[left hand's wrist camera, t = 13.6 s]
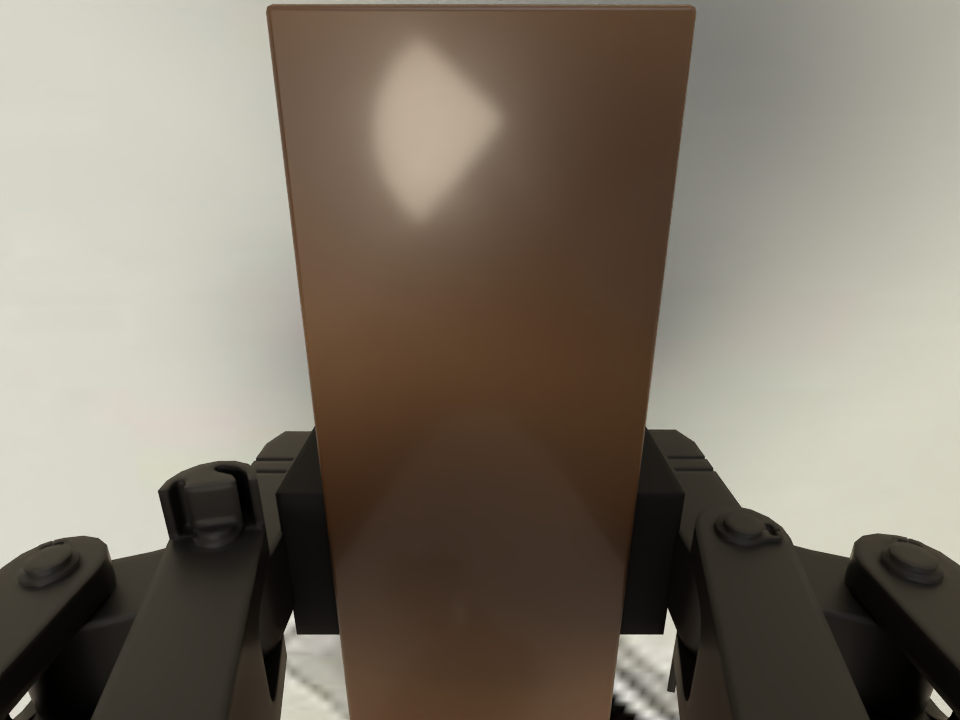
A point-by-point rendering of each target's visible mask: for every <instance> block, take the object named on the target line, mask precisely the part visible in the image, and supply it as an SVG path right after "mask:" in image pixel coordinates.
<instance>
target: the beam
mask: <svg viewBox="0 0 960 720" xmlns="http://www.w3.org/2000/svg"><path fill="white" fill-rule="evenodd" d="M266 16H267V24H268V33H269V41H270V49H271V58H272V66H273V75H274V83H275V92H276V100H277V109H278V117H279V125H280V134H281V142H282V151H283V159H284V168H285V176H286V184H287V193H288V201H289V210H290V218H291V227H292V235H293V244H294V252H295V260H296V269H297V277H298V286H299V294H300V303H301V311H302V319H303V328H304V336H305V345H306V353H307V362H308V370H309V379H310V387H311V395H312V404H313V412H314V421H315V429H316V438H317V446H318V454H319V463H320V471H321V480H322V488H323V497H324V505H325V514H326V522H327V530H328V539H329V547H330V556H331V564H332V573H333V581H334V589H335V598H336V606H337V615H338V623H339V632H340V640H341V649H342V657H343V665H344V674H345V682H346V691H347V699H348V708H349V716H350V720H609V719H610V711H611V703H612V695H613V686H614V678H615V670H616V662H617V654H618V646H619V638H620V629H621V621H622V613H623V605H624V597H625V589H626V581H627V572H628V564H629V556H630V548H631V540H632V532H633V524H634V515H635V507H636V499H637V491H638V483H639V475H640V467H641V458H642V450H643V442H644V434H645V426H646V418H647V410H648V401H649V393H650V385H651V377H652V369H653V361H654V353H655V344H656V336H657V328H658V320H659V312H660V304H661V296H662V287H663V279H664V271H665V263H666V255H667V247H668V239H669V230H670V222H671V214H672V206H673V198H674V190H675V182H676V173H677V165H678V157H679V149H680V141H681V133H682V125H683V116H684V108H685V100H686V92H687V84H688V76H689V68H690V59H691V51H692V43H693V35H694V27H695V19H696V10H695V7H693V6H691V5H535V4H272V5H270V6H268V7H267V11H266Z"/></svg>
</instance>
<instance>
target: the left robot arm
mask: <svg viewBox="0 0 960 720" xmlns="http://www.w3.org/2000/svg"><path fill="white" fill-rule="evenodd" d="M158 493H159V497H160V502H161V506H162V510H163V514H164V518H165V522H166V526H167V530H168V534H169V538H170V539H169V542H168V544H167V546H166V548H164V549H161V550H157V551H153V552H149V553H144V554H139V555H134V556H129V557H125V558H120V559H115V560H111V558H110V554H109V551H108V547H107V545H106V544H105V543H104V542H103V541H101V540H100V539H99V538H94V537H88V536H77V537H68V538H62V539H57V540H54V541H50V542H47V543H44V544H41V545H39V546H38V547H36V548H34V549H32V550H29V551H27V552H25V553H23V554H21V555H20V556H18V557H17V558H15V559H14V560H12V561H11V562H10V563H8V564H7V565H5V566H4V567H2V568H1V569H0V720H280V717H281V707H282V698H283V689H284V679H285V670H286V661H287V653H286V646H285V640H284V634H283V633H284V631H285V628H286V626H287V623H288V621H289V618H290V616H291V613H292V611H294V618H295V624H296V631H297V634H340V632H339V623H338V615H337V606H336V598H335V589H334V581H333V573H332V564H331V556H330V547H329V539H328V530H327V522H326V514H325V505H324V497H323V488H322V480H321V471H320V463H319V454H318V446H317V438H316V429H315V427H314V428H313V430H312V431H285V432H284V433H282V434H281V435H279V436H278V437H276V438H275V439H273V440H271V441H270V442H268V443H267V444H266V445H265V447H264V448H263V449H262V451H261V452H260V454H259V455H258V456H257V458H256V461H254V462H253V463H252V465H251V466H250V465H249V464H246V463H242V462H237V461H216V462H211V463H206V464H201V465H198V466H195V467H192V468H190V469H187V470H184V471H182V472H180V473H178V474H177V475H175V476H174V477H172V478H170V479H169V480H167V481H166V482H165V483H164V485H163V486H162V487H161V488H160V489H159V490H158ZM667 608H668V610H669V612H670V614H671V617H672V619H673V622H674V624H675V627H676V629H677V634H676V640H675V646H674V652H673V658H672V664H671V670H670V676H669V682H668V689H667V691H669V692H674V693H675V687H677V697H678V706H679V715H680V720H960V565H958V564H957V563H956V562H954V561H953V560H951V559H950V558H948V557H947V556H945V555H944V554H943V553H941V552H939V551H937V550H935V549H933V548H931V547H929V546H927V545H924V544H923V543H921V542H919V541H916V540H913V539H907V538H906V537H902V536H897V535H887V534H878V533H877V534H871V535H865V536H862V537H861V538H859V539H858V540H857V541H856V542H854V546H853V549H852V553H851V556H850V558H848V557H843V556H838V555H833V554H828V553H823V552H818V551H813V550H809V549H805V548H801V547H798V546H794V545H793V543H792V541H791V538H790V537H789V536H788V534H787V533H786V532H785V530H784V529H783V528H782V527H781V526H780V525H778V524H777V523H776V522H774V521H773V520H772V519H770V518H769V517H767V516H765V515H762V514H760V513H758V512H755V511H753V510H750V509H746V508H742V507H741V506H740V505H739V503H738V502H737V500H736V499H735V498H734V496H733V495H732V494H731V492H730V491H729V489H728V488H727V487H726V485H725V484H724V482H723V481H722V480H721V478H720V477H719V476H718V474H717V473H716V471H713V467H712V466H711V464H710V463H709V462H708V460H707V459H705V456H704V455H703V453H702V452H701V451H700V449H699V448H698V446H697V445H696V444H695V442H694V441H692V440H691V439H689V438H687V437H686V436H684V435H683V434H681V433H680V432H678V431H677V430H648V429H647V428H646V426H645V434H644V442H643V450H642V458H641V467H640V475H639V483H638V491H637V499H636V507H635V515H634V524H633V532H632V540H631V548H630V556H629V564H628V572H627V581H626V589H625V597H624V605H623V613H622V621H621V629H620V634H663V633H664V627H665V620H666V614H667ZM933 688H934V689H935V690H936V692H937V693H938V694H939V695H940V696H941V697H942V699H943V700H944V701H945V702H946V703H947V705H948V706H949V707H950V708H951V709H952V710H953V712H952V714H951V716H950V717H947V716H946V715H945V714H944V713H943V712H942V711H941V710H940V709H939V708H938V707H937V706H936V705H935V703H934V702H933V701H932V700H931V699H930V696H931V693H932V691H933ZM27 691H28V692H29V694H30V697H31V699H32V700H31V701H30V702H29V704H28V705H27V706H26V707H25V708H24V710H23V711H22V712H21V713H20V714H18V715H17V716H16V717H15V718H14V719H12V718H10V715H9V713H10V712H11V710H12V709H13V708H14V707H15V706H16V705H17V703H18V702H19V701H20V700H21V699H22V697H23V696H24V695H25V694H26V693H27Z"/></svg>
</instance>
